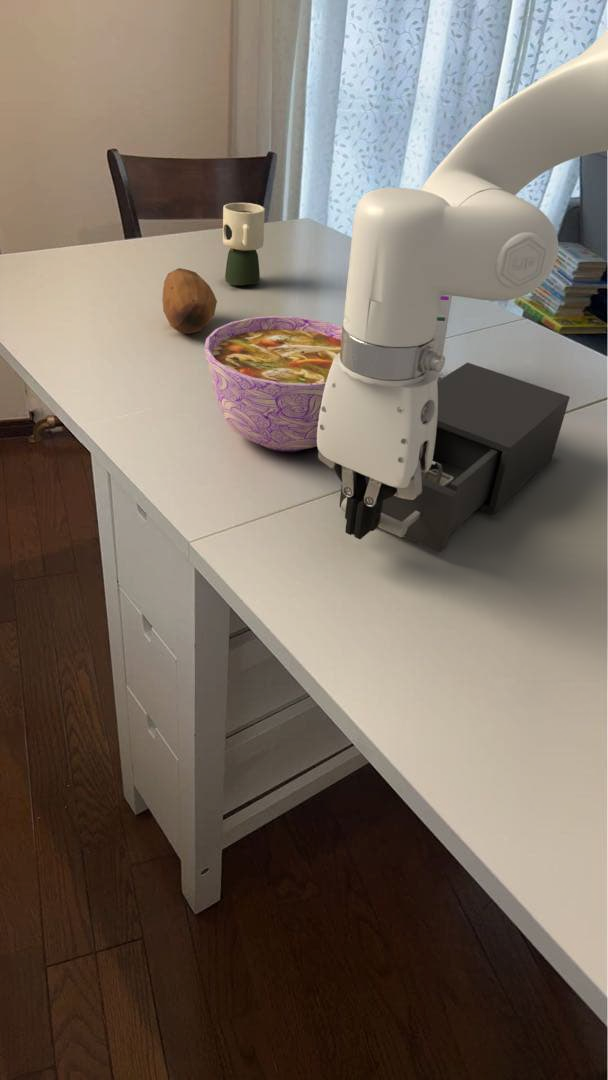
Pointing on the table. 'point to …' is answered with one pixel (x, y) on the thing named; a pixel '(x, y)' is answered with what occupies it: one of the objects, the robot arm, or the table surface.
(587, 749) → the table surface
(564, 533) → the table surface
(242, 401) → the bowl of food
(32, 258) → the table surface
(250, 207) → the character mug
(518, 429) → the small drawer cabinet
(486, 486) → the open drawer with handle
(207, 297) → the potato
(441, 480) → the strap clip
